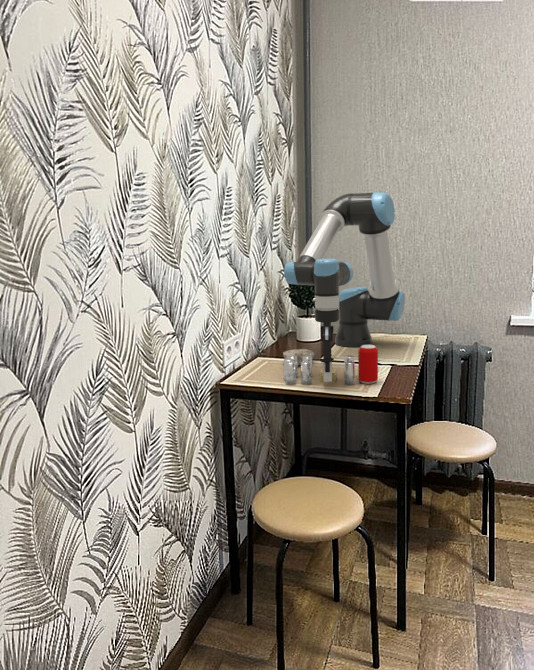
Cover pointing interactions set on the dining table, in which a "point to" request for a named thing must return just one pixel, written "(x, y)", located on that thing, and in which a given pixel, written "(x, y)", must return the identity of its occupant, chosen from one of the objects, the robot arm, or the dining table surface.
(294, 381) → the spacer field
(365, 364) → the beverage can
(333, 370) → the nut
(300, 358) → the rock
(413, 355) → the dining table surface
